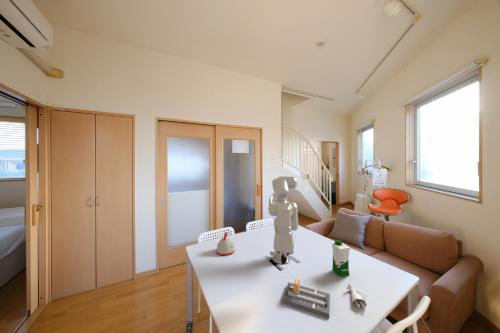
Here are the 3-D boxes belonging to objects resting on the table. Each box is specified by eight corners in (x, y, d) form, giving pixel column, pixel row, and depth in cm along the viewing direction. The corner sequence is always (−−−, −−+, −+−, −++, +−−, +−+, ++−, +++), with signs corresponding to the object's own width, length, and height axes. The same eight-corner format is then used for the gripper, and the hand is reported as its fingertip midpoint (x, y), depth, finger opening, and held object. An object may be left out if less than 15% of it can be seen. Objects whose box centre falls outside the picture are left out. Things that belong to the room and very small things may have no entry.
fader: (293, 294, 94) (293, 283, 94) (294, 289, 98) (294, 278, 98) (298, 296, 93) (298, 284, 93) (300, 291, 97) (300, 280, 97)
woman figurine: (348, 300, 88) (338, 279, 105) (348, 309, 87) (338, 287, 105) (375, 304, 85) (360, 282, 103) (375, 314, 85) (361, 290, 102)
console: (282, 302, 92) (282, 296, 92) (288, 285, 105) (288, 280, 104) (329, 318, 83) (329, 311, 83) (329, 297, 95) (329, 291, 95)
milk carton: (341, 268, 122) (341, 238, 122) (351, 276, 113) (352, 244, 113) (330, 270, 120) (330, 240, 119) (340, 278, 111) (340, 246, 110)
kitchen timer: (235, 248, 151) (235, 230, 151) (232, 256, 137) (232, 237, 137) (219, 247, 152) (219, 229, 152) (214, 255, 139) (214, 236, 138)
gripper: (268, 229, 97) (268, 263, 98) (296, 233, 91) (296, 269, 91) (272, 225, 104) (272, 256, 104) (299, 229, 98) (299, 262, 98)
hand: (283, 262), depth 98 cm, fingers closed
